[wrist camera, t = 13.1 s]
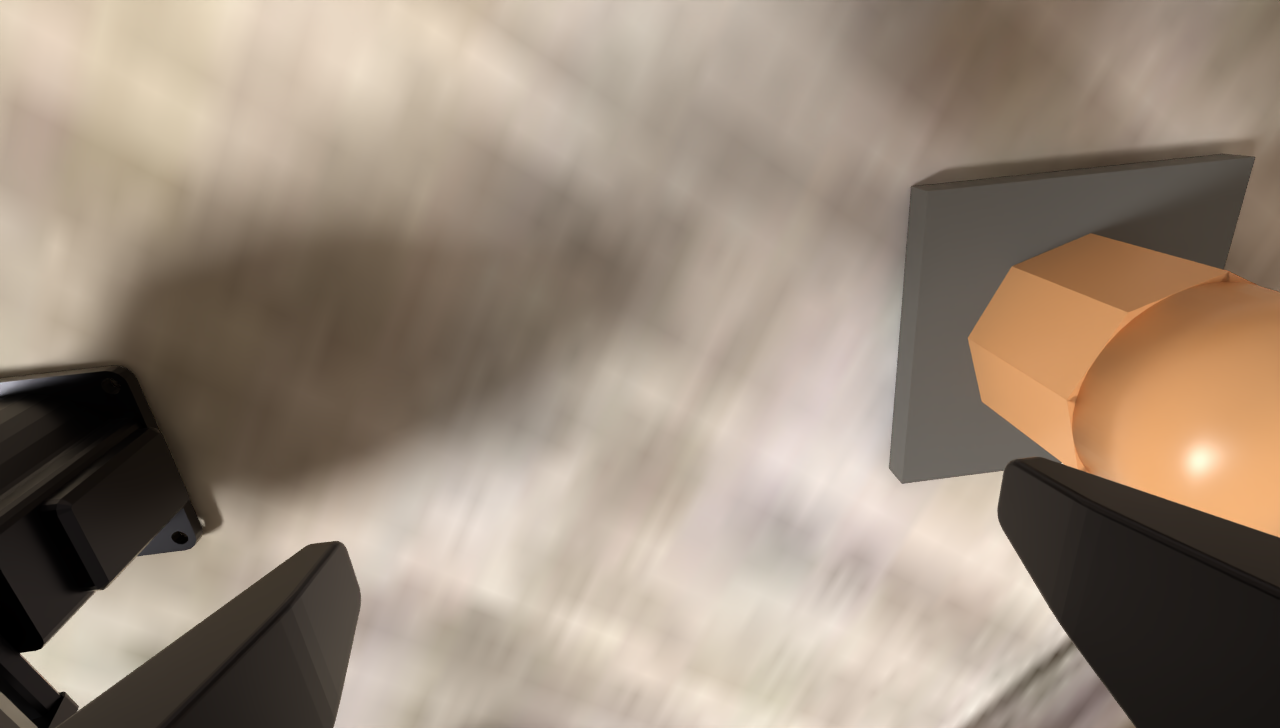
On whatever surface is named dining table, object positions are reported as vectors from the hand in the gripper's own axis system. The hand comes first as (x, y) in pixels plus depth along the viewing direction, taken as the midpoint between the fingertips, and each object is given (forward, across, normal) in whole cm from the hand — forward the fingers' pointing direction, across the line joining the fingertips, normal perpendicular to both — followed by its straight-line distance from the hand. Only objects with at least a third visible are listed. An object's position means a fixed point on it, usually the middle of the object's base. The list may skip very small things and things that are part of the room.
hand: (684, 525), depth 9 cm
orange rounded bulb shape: (+11, -14, +3) cm, 18 cm away
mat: (+12, -14, +3) cm, 19 cm away
